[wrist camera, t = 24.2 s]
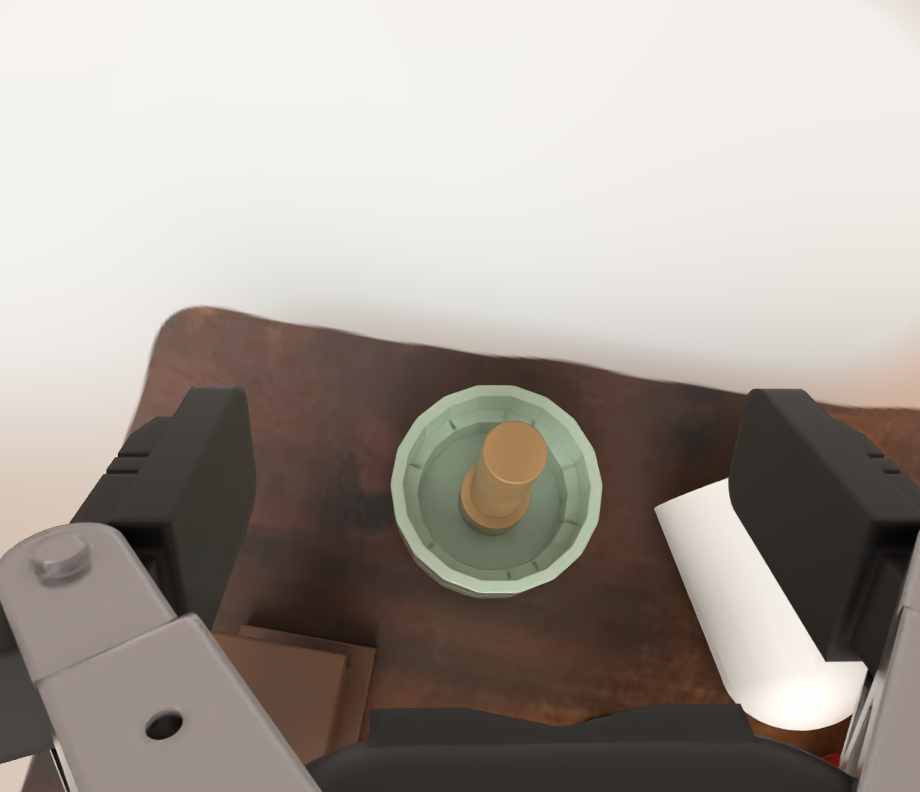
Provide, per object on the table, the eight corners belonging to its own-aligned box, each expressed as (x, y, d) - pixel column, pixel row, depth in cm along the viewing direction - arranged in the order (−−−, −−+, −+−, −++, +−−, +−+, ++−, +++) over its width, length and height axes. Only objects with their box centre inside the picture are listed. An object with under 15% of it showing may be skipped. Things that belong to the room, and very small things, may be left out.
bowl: (379, 581, 40) (371, 573, 35) (415, 399, 43) (414, 367, 38) (567, 615, 40) (588, 612, 35) (590, 431, 43) (612, 402, 38)
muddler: (452, 529, 41) (462, 487, 29) (464, 465, 42) (478, 400, 30) (518, 541, 41) (553, 504, 29) (528, 477, 42) (566, 417, 30)
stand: (209, 770, 37) (57, 862, 22) (245, 624, 39) (130, 616, 24) (348, 796, 37) (293, 906, 22) (377, 648, 39) (345, 655, 24)
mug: (881, 753, 29) (752, 464, 33) (717, 753, 37) (627, 518, 40) (1026, 659, 35) (905, 422, 39) (860, 676, 43) (770, 476, 46)
